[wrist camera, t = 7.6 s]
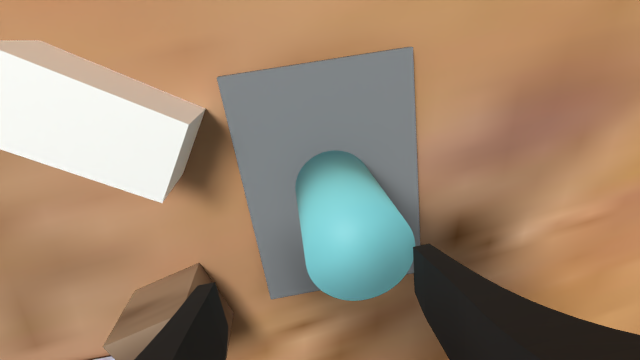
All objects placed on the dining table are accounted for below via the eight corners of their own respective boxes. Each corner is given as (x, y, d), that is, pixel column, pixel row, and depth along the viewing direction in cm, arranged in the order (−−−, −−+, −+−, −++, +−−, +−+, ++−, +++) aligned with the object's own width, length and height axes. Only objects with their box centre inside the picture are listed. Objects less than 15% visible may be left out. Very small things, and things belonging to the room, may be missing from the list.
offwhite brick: (206, 107, 19) (188, 124, 15) (183, 172, 20) (162, 202, 16) (42, 40, 17) (-25, 40, 13) (27, 116, 18) (-38, 136, 14)
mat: (418, 266, 24) (421, 271, 23) (271, 293, 23) (270, 299, 23) (408, 46, 19) (412, 47, 18) (218, 76, 18) (216, 77, 18)
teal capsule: (374, 213, 21) (417, 288, 15) (302, 227, 21) (314, 310, 15) (366, 144, 20) (412, 194, 13) (288, 158, 19) (296, 217, 13)
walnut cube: (233, 312, 24) (224, 370, 20) (174, 337, 24) (152, 399, 20) (199, 262, 22) (180, 313, 18) (135, 289, 22) (102, 346, 18)
